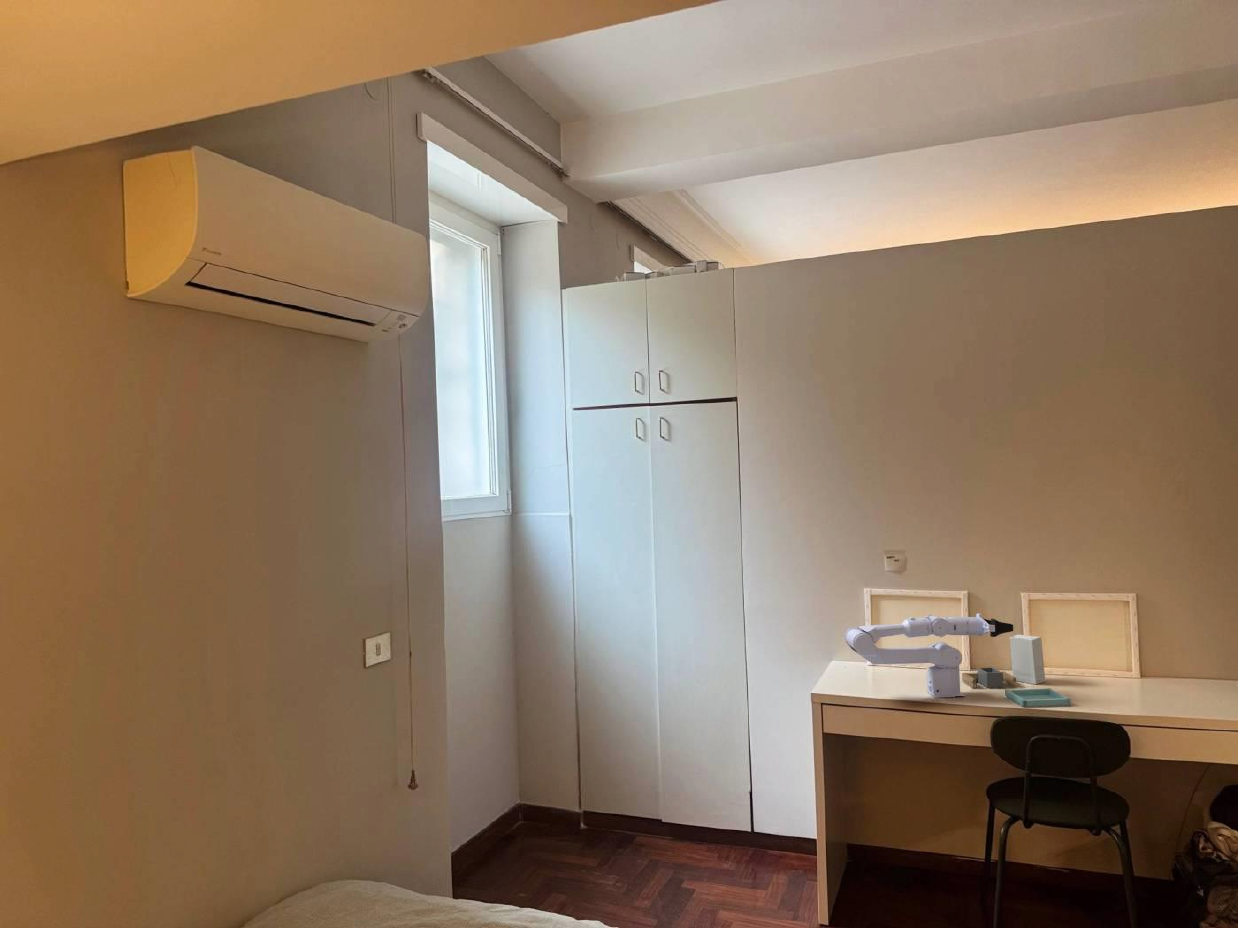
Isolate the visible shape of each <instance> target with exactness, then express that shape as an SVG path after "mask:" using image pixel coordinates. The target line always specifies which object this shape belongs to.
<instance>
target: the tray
mask: <svg viewBox="0 0 1238 928" xmlns="http://www.w3.org/2000/svg"><path fill="white" fill-rule="evenodd" d="M1004 695H1005V696H1006V697H1005V696H1004V697H1005V698H1007V699H1008V700H1010V701H1012V702H1013V703H1015V704H1017V705H1019V706H1021V707H1022V708H1045V707H1048V708H1049V707H1050V708H1051V707H1071V706H1072V703H1071V698H1070V697H1067V696H1065V695H1064V694H1061V692H1058V691H1056V690H1054V689H1052V688H1050V687H1049V688H1047V687H1046V688H1027V689H1026V688H1025V689H1024V688H1023V689H1019V688H1018V689H1005V690H1004Z"/></svg>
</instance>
